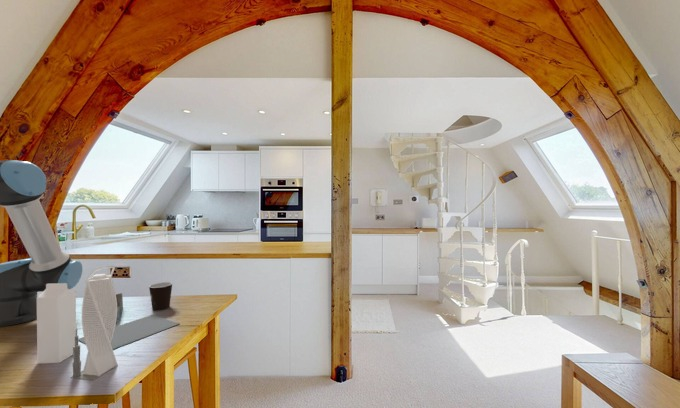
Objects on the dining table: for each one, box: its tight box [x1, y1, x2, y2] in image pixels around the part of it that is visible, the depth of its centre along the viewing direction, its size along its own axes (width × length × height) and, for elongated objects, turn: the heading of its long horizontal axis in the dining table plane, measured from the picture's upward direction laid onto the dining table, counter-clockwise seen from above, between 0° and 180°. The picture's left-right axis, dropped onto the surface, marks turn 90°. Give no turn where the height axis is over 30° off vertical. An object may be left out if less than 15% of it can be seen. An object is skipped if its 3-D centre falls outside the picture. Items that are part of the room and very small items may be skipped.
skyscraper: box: [70, 265, 118, 381], centre depth 80 cm, size 8×8×28 cm
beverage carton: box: [116, 292, 124, 322], centre depth 120 cm, size 8×19×7 cm, turn 34°
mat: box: [78, 314, 180, 350], centre depth 104 cm, size 18×24×1 cm
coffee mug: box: [148, 281, 173, 312], centre depth 129 cm, size 12×9×10 cm
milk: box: [36, 283, 77, 365], centre depth 87 cm, size 6×6×22 cm
